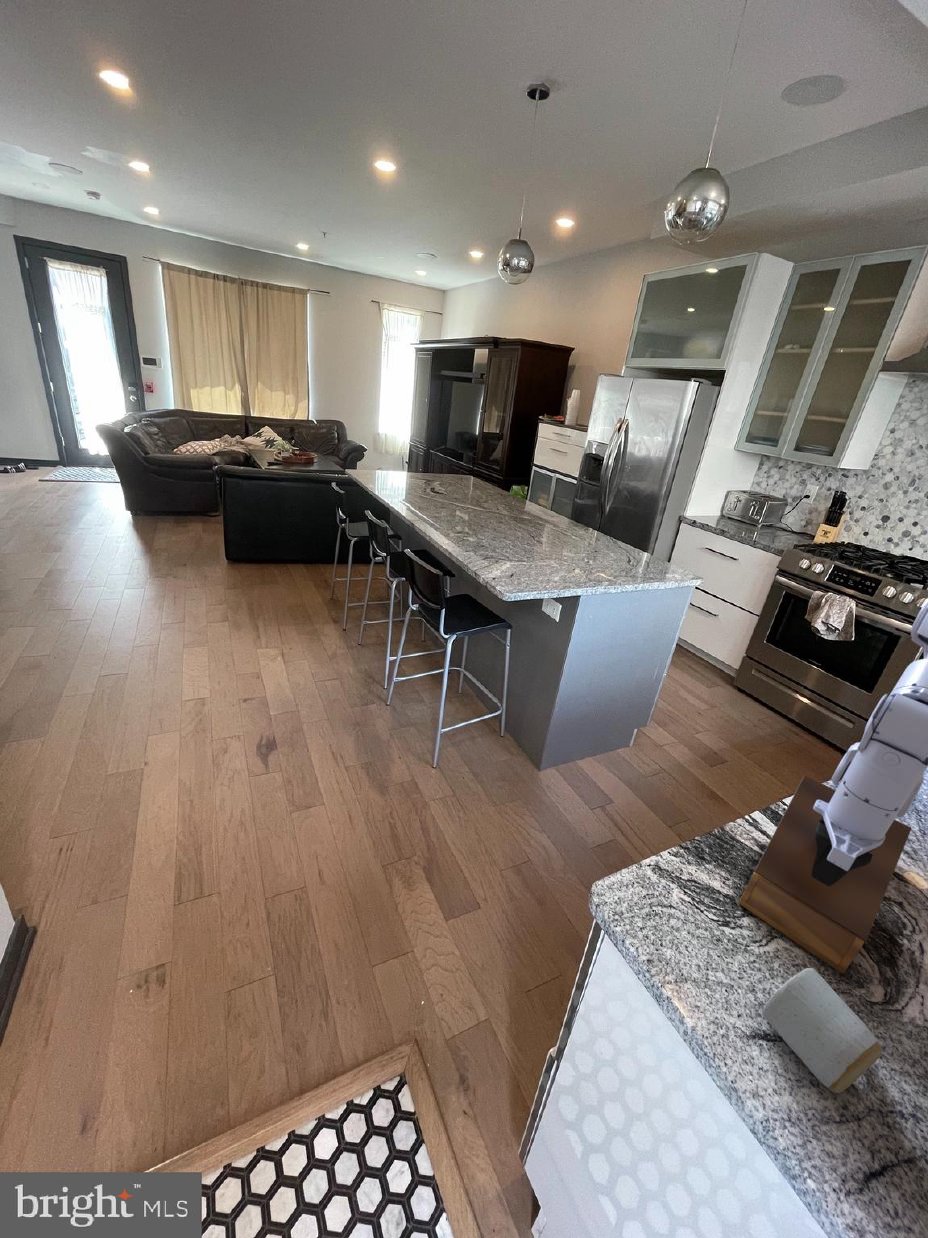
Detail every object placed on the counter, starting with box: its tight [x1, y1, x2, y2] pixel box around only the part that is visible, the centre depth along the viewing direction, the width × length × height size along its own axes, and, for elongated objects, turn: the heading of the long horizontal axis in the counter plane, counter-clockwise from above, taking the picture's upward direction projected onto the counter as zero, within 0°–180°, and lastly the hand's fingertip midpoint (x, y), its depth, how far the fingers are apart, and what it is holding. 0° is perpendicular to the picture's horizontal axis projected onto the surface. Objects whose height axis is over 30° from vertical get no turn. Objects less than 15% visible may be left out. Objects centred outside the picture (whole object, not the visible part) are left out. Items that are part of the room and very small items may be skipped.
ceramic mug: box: [761, 967, 883, 1094], centre depth 54 cm, size 11×8×8 cm
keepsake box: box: [738, 871, 865, 975], centre depth 71 cm, size 16×13×6 cm
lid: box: [753, 774, 912, 942], centre depth 67 cm, size 16×13×1 cm
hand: (821, 877), depth 63 cm, fingers closed
